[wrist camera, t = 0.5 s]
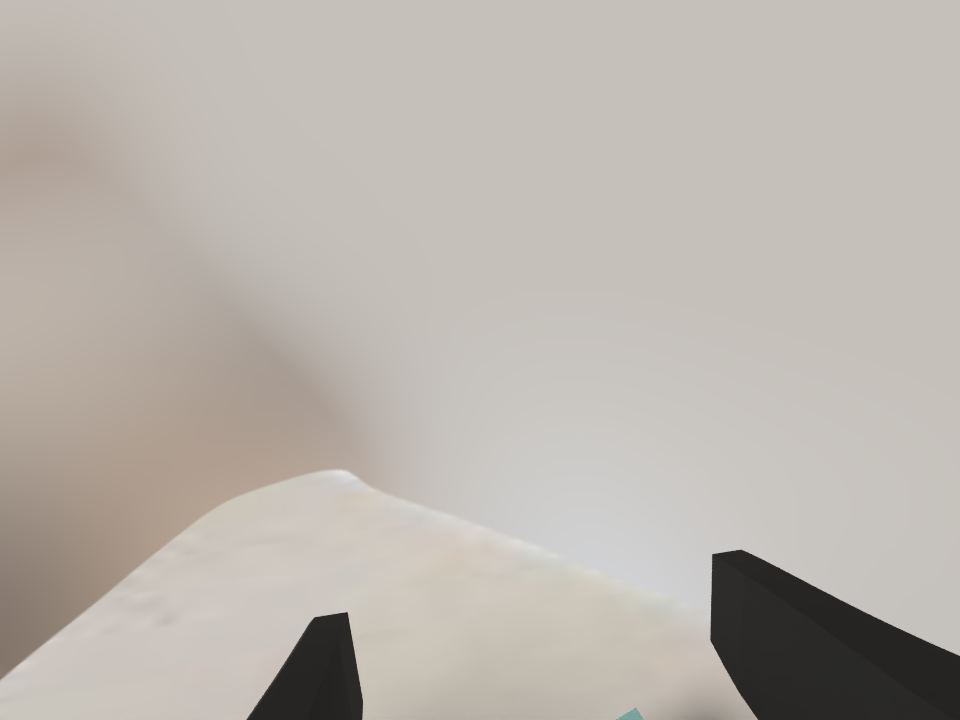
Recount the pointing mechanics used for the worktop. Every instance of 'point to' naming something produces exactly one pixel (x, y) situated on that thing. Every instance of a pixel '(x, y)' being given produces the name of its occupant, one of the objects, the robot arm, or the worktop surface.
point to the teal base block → (631, 715)
